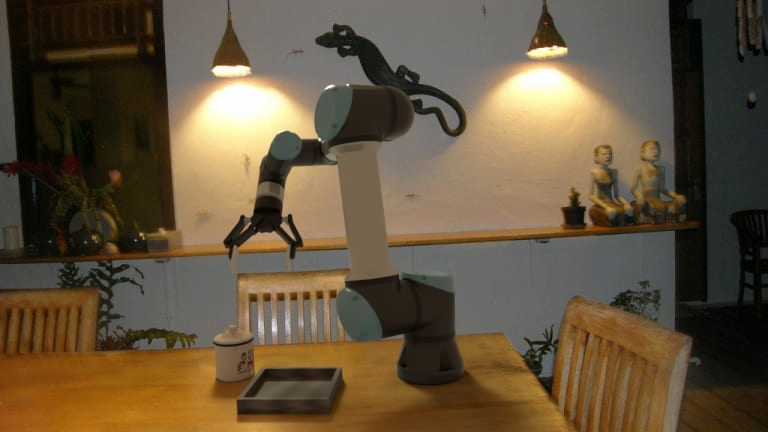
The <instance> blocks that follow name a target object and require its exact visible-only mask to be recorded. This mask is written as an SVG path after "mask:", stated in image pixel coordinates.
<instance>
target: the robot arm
mask: <svg viewBox="0 0 768 432" xmlns="http://www.w3.org/2000/svg"><path fill="white" fill-rule="evenodd" d="M313 117H314V118H313V119H314V120H313V123H314V130H315V134H317V137H318V138H316V137H315V138H301V137H300V136H299V135H298V133H295V132H292V131H291V130H281V131H279V132H277V133H276V134H275V136H274V137H273V139H272V141H271V143H270V145H269V148H268V150H267V154H266V155H264V156H263V157H262V158H261V163H260V165H259V167H258V168H259V171H258V172H259V173H258V181H257V186H256V187H257V188H256V192H255V193H256V194H255V198H254V205H253V213H252V215H251V217H250V216H245V214H241V215H240V217H239V220H238V221H237V223H236V224H235V226H234V227H233V228H232V229H231V231H230V232H229V233H228V235H227V236H226V237H225V238H224V240H222V243H223V247H224V248H225V249H226V250H228V253H227V254H228V255H227V256H228V258H229V261H230V264H229V265H230V266H229V268H230V270H231V273H232V274H235V273H236V272H237V267H238V261H239V260H238V259H239V252H240V251H239V248H240V247H241V246H242V245H244V244H245V243H246V242H247V241H248V240H249V239H251V238H252V237H253V236H256V235H257V234H258V233H260V234H265V233H268V234H272V233H273V232H275V234H277V235H278V236H279V237H280V238H281V239H282V240H283V241H284V242H285V243H286V246H287V247H286V255H285V264H284V266H285V270H286V273H289V272H291V263H292V262H291V261H292V260H295V259H296V252H297V249H298V248H303V247H304V242H303V241H304V240H303V238H302V236H301V234H300V232H299V231H298V229H297V227H296V224H295V223H294V219H293V214H292V213H289V214H287V216H282V215H283V208H284V199H285V191H286V190H285V189H286V185H287V184H286V181H287V178H288V176H289V174H290V172H291V171H292V168H295V167H311V166H312V167H314V166H337V170H338V171H337V172H338V173H337V174H338V178H339V181H338V182H339V188H340V196H341V205H342V213H343V220H344V221H343V222H344V228H345V237H346V245H347V252H348V262H349V263H348V264H349V268H350V269H349V272H348V273H347V275H346V276H345V277H344V279H343V280H344V287H343V288H342V289H341V290H339V291H338V293H337V295H336V300H335V301H336V303H335V304H336V305H335V306H336V312H337V316H338V320H339V322H340V324H341V327H342V329H343V330H344V331H345V332H346V334H347V335H348V337H349V338H351V339H352V340H353V341H355V342H357V343H361V344H363V343H369V342H379V341H380V340H384V339H388V338H392V337H398V336H402V335H403V340H402V343H401V347H400V351H399V354H398V358H397V361H396V375H397V376H398V377H399V378H400V379H402V380H403V381H406V382H408V383H412V384H418V385H419V384H420V385H440V384H447V383H450V382H451V383H452V382H455V381H458V380H459V379H461V378H462V377H463V376H464V374H465V360H464V359H463V356H462V353H461V350H460V347H459V345H458V344H459V343H458V342H457V338H456V337H457V336H456V304H455V303H456V290H455V282H454V281H455V280H454V279H453V276H452V275H451V274H448V273H446V272H443V271H437V270H430V269H429V270H428V269H404V270H402V271H401V275H400V274H399V271H398V270H397V269H396V268H394V267H393V266H392V264H391V257H390V250H389V242H388V241H389V240H388V234H387V232H388V231H387V225H386V217H385V209H384V199H383V194H382V184H381V177H380V169H379V162H378V161H379V160H378V152H379V151H380V150H381V148H382V147H383V145H384V144H383V143H391V142H393V141H395V140H397V139H399V138H401V137H404V136H405V135H407V133H408V132H410V129H411V128H412V126H413V124H414V121H415V108H414V105H413V102H412V101H411V99H410V97H409V96H408V95H407V94H406V93H405V92H404V91H402V90H401V89H399V88H398V87H395V86H391V85H373V84H371V85H369V84H353V83H352V84H351V83H343V84H331V85H328V86H327V87H325V88H324V89H323V90H322V91H321V93H320V95H319V97H318V99H317V102H316V105H315V110H314V115H313ZM283 223H285V225H287V226H288V228H289V230H290V232H291V234H292V236H293V238H294V239H293V238H292V237H291V236H290V234H289V233H288V232H287V231H286V230H285V229H284V228H283V227H282V226H281V225H282V224H283ZM248 224H249V225H248ZM247 226H248V227H247ZM245 228H246V229H245Z"/></svg>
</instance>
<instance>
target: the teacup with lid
mask: <svg viewBox="0 0 768 432" xmlns="http://www.w3.org/2000/svg"><path fill="white" fill-rule="evenodd" d="M254 340H255V336H254V335H253V333H252V332H250V331H245V330H242V329H241V328H238V326H237V325H236V324H231V325H229V326H228V328H227V330H225V331H223V332H222V333H219V334H217V335H216V336H215V337H214V338H213V340H212V344H213V346H214V361H215V363H214V364H215V373H216V374H215V376H216V378H217V380H219V381H221V382H227V383H229V382H231V383H233V382H240V381H244V380H245V381H246V380H248V379H250V378H251V377H253V376H254V375H255V373H256V367H255V351H254V350H255V349H254Z"/></svg>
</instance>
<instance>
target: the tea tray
mask: <svg viewBox="0 0 768 432" xmlns="http://www.w3.org/2000/svg"><path fill="white" fill-rule="evenodd" d="M343 379H344V377H343V366H263V367H261V368H260V369H259V371H258V372H257V373H256V374H255V376H254V377H253V378H252V380H250V382H249V383H248V384H247V386H246V387H245V388H244V390H243V391H242V392H241V393H240V394H239V396H238V397H237V398H236V412H237V413H236V414H237V415H330V412H331V409H332V408H333V405H334V402H335V400H336V397H337V396H338V393H339V391H340V390H339V389H340V388H341V385H342V383H343V381H344V380H343Z"/></svg>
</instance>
